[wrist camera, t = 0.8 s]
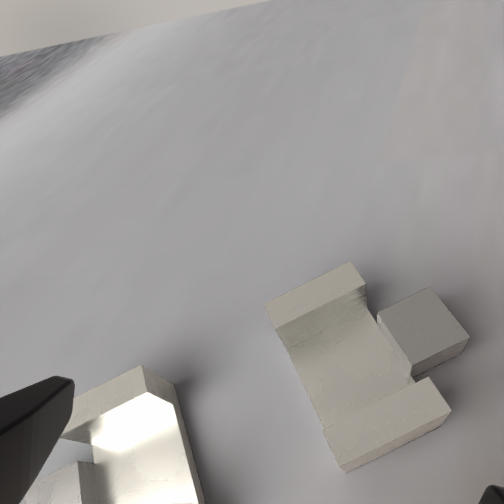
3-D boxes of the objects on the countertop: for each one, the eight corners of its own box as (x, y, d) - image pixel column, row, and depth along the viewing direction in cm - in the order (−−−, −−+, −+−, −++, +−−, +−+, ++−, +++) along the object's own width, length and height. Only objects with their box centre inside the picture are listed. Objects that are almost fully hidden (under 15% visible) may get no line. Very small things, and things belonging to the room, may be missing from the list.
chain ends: (495, 399, 19) (519, 377, 16) (65, 611, 19) (1, 633, 16) (399, 272, 24) (402, 235, 21) (53, 443, 24) (1, 433, 21)
